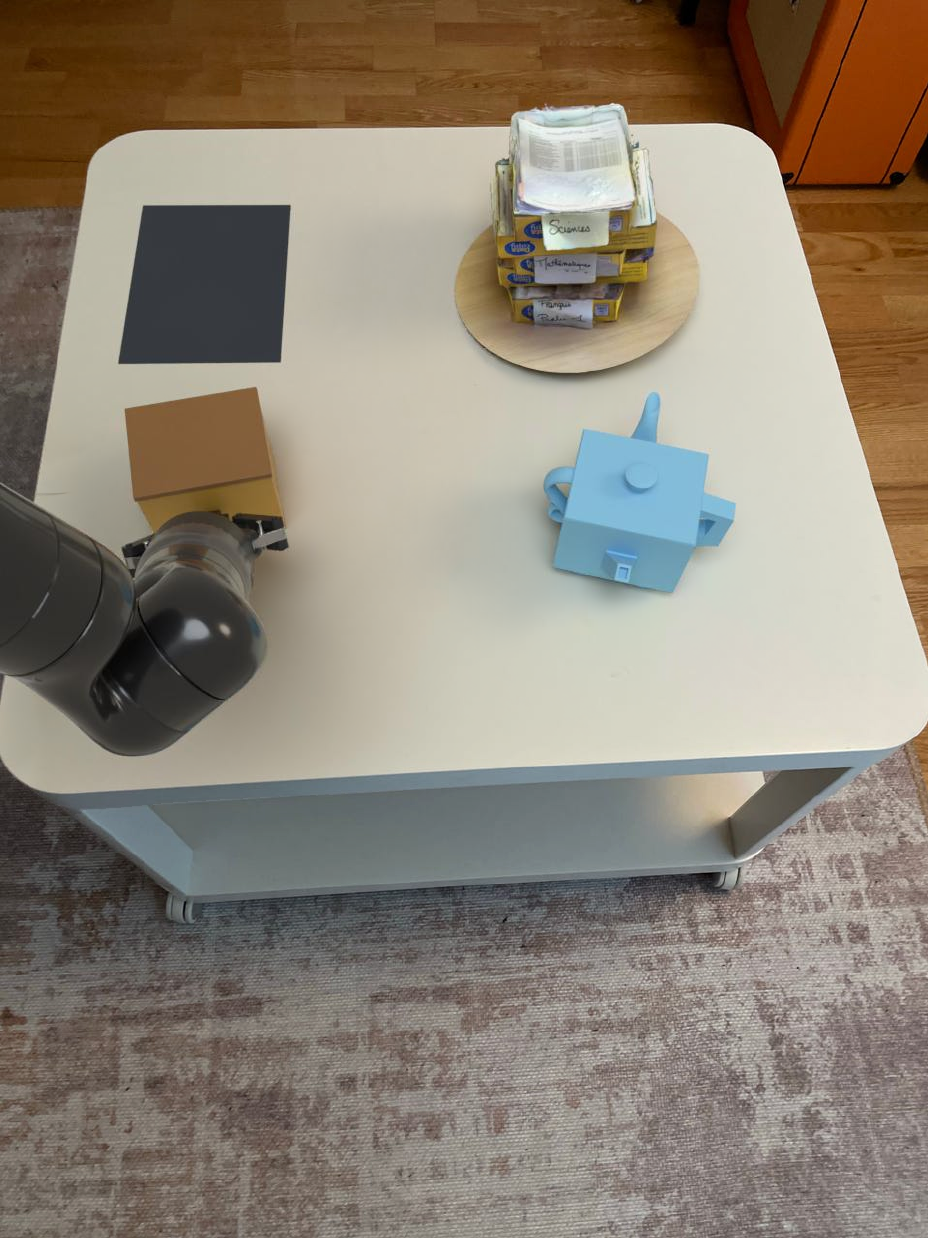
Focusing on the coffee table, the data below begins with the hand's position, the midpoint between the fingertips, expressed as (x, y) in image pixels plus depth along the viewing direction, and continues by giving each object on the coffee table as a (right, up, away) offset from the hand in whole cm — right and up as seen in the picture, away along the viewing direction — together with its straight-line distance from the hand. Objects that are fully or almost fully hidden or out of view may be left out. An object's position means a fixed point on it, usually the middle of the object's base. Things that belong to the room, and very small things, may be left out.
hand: (214, 522), depth 81 cm
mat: (-5, +27, +18) cm, 33 cm away
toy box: (-1, +3, +6) cm, 7 cm away
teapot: (+36, -1, +5) cm, 36 cm away
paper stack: (+33, +26, +18) cm, 46 cm away
